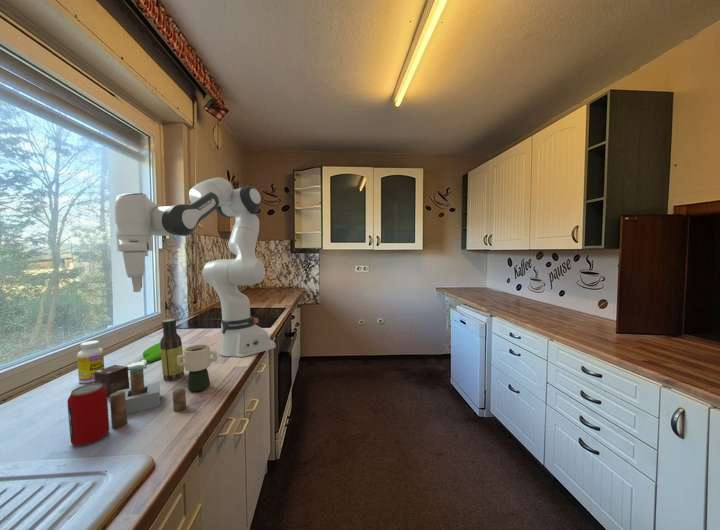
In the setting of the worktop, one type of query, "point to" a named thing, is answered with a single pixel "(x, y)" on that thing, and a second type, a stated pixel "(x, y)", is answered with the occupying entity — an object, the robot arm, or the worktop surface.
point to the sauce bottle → (171, 351)
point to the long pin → (137, 380)
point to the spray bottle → (149, 356)
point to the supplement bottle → (89, 361)
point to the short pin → (179, 400)
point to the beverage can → (88, 414)
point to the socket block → (143, 398)
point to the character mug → (197, 365)
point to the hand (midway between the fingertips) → (138, 290)
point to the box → (113, 378)
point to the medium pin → (118, 409)
